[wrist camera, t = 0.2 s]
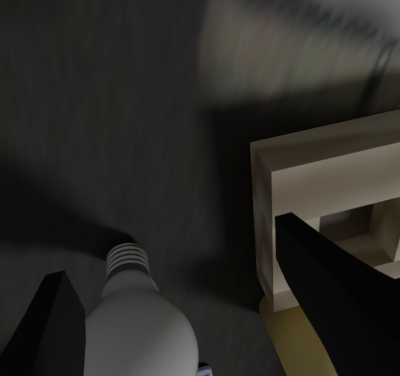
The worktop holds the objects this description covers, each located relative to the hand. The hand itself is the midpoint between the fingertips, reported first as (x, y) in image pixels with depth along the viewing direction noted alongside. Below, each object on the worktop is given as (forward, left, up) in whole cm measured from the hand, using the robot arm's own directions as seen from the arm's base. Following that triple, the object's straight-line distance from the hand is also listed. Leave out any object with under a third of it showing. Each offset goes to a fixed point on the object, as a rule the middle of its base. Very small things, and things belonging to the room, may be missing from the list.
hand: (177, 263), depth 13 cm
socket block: (-8, -12, -10) cm, 17 cm away
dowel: (-18, -8, -10) cm, 22 cm away
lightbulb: (-8, +3, -10) cm, 13 cm away
